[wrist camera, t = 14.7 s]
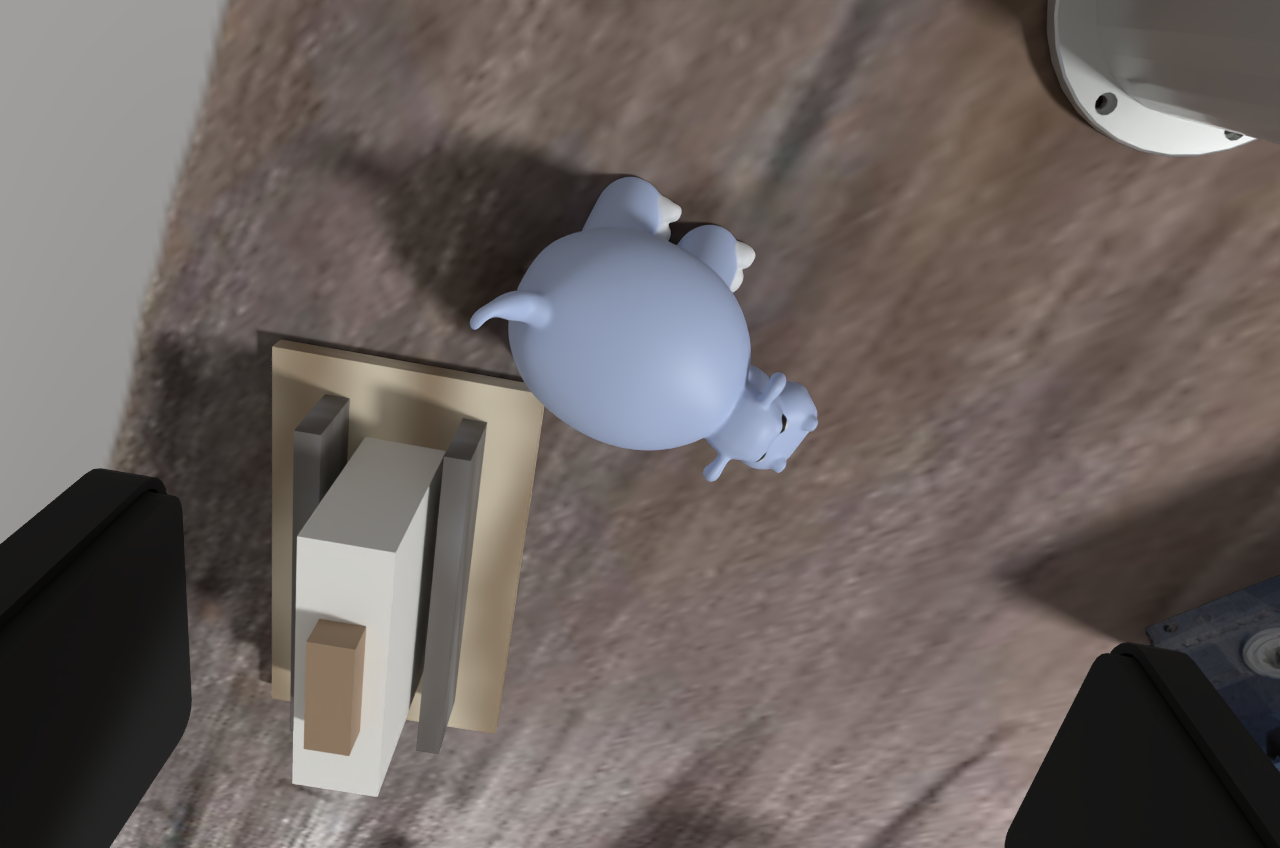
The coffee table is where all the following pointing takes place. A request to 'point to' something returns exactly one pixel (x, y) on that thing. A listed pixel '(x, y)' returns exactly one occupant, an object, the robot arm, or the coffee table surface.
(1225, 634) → the vhs cassette tape
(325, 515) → the cabinet block
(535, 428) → the groove stand
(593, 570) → the coffee table surface
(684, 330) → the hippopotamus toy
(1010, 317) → the coffee table surface
